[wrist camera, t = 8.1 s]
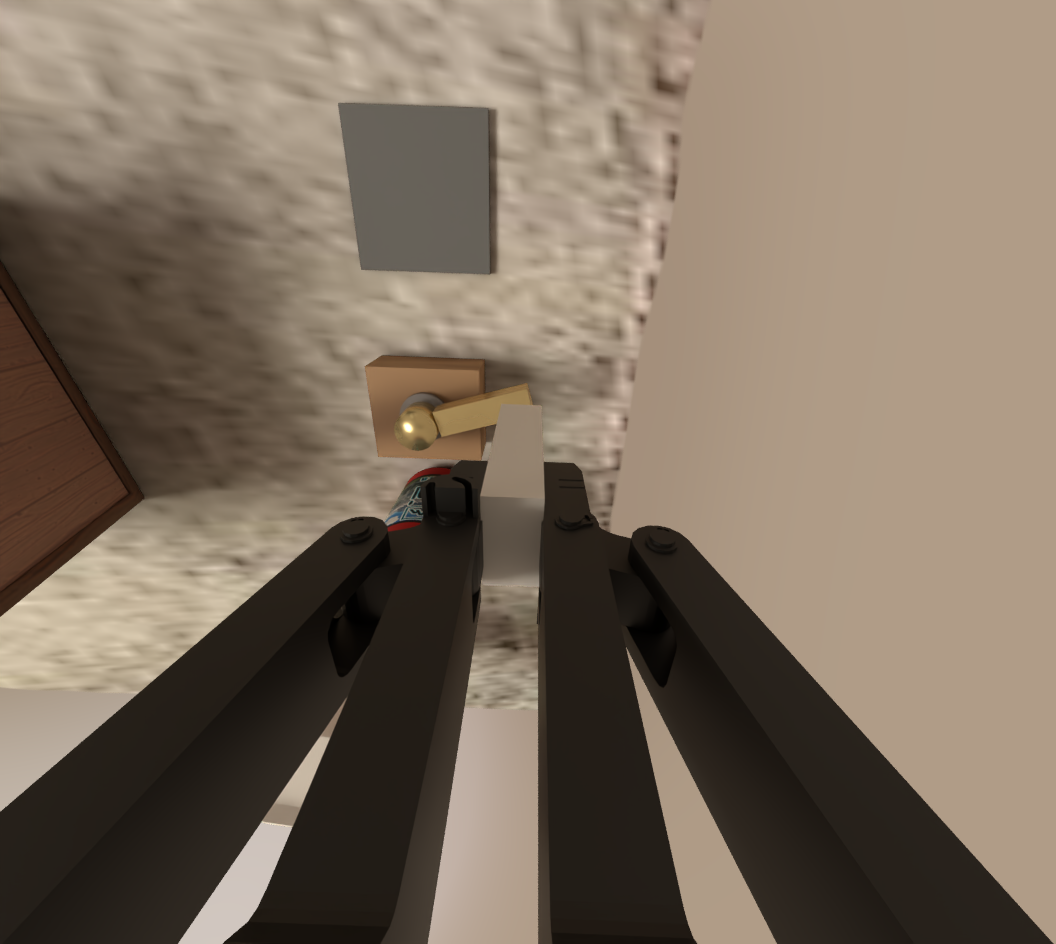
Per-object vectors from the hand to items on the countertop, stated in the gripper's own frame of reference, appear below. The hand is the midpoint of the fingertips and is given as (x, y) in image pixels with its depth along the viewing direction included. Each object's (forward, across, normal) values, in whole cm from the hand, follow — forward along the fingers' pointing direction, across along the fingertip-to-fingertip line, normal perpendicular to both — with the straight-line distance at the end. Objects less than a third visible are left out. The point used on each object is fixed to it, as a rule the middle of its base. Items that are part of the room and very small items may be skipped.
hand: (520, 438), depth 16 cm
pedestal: (+18, -7, -5) cm, 20 cm away
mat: (+18, -7, +9) cm, 22 cm away
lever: (+14, -4, -4) cm, 15 cm away
